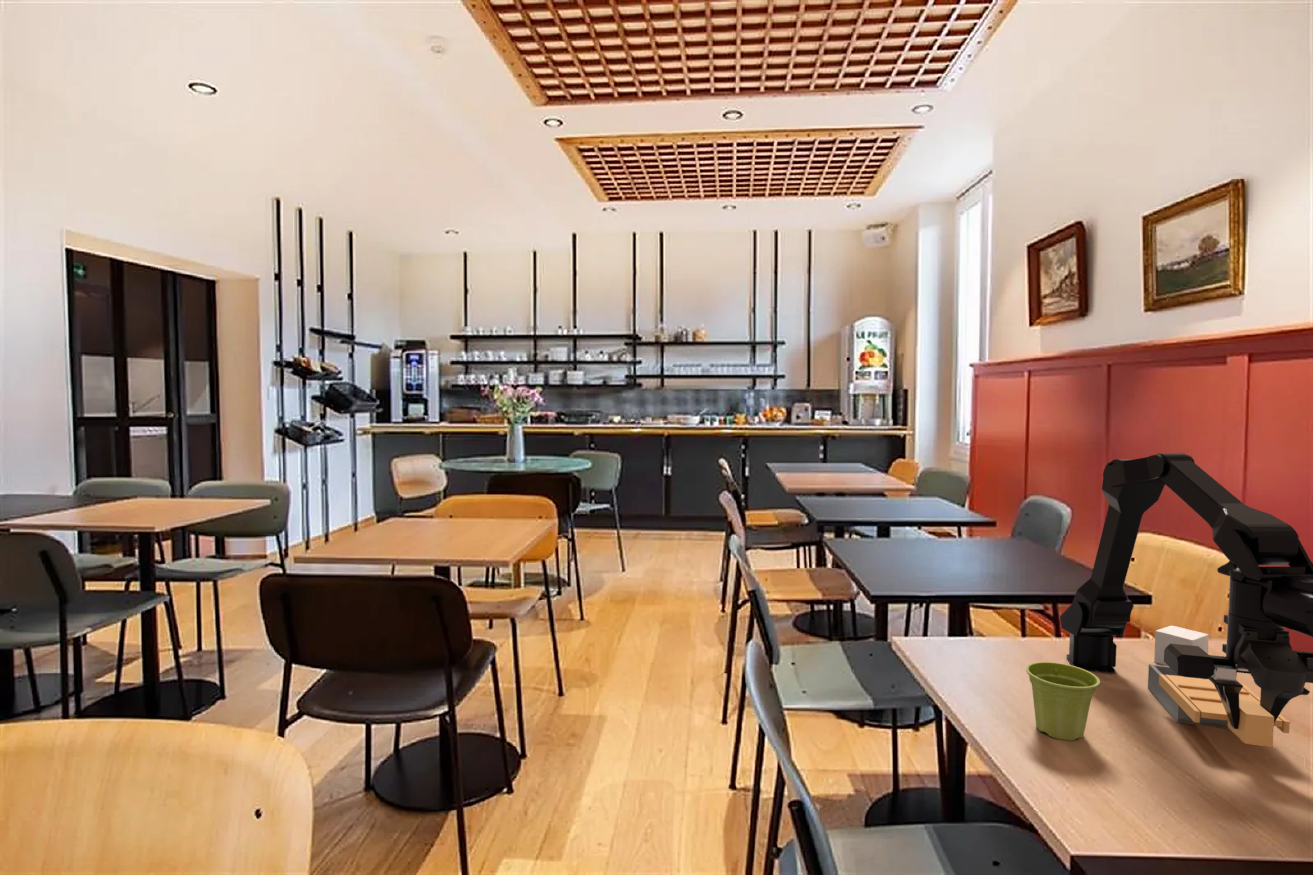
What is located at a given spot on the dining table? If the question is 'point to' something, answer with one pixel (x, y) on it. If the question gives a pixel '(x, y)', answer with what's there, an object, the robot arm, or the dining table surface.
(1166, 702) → the tub
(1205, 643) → the white cube
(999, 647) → the dining table surface
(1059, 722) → the plant pot
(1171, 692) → the lid
